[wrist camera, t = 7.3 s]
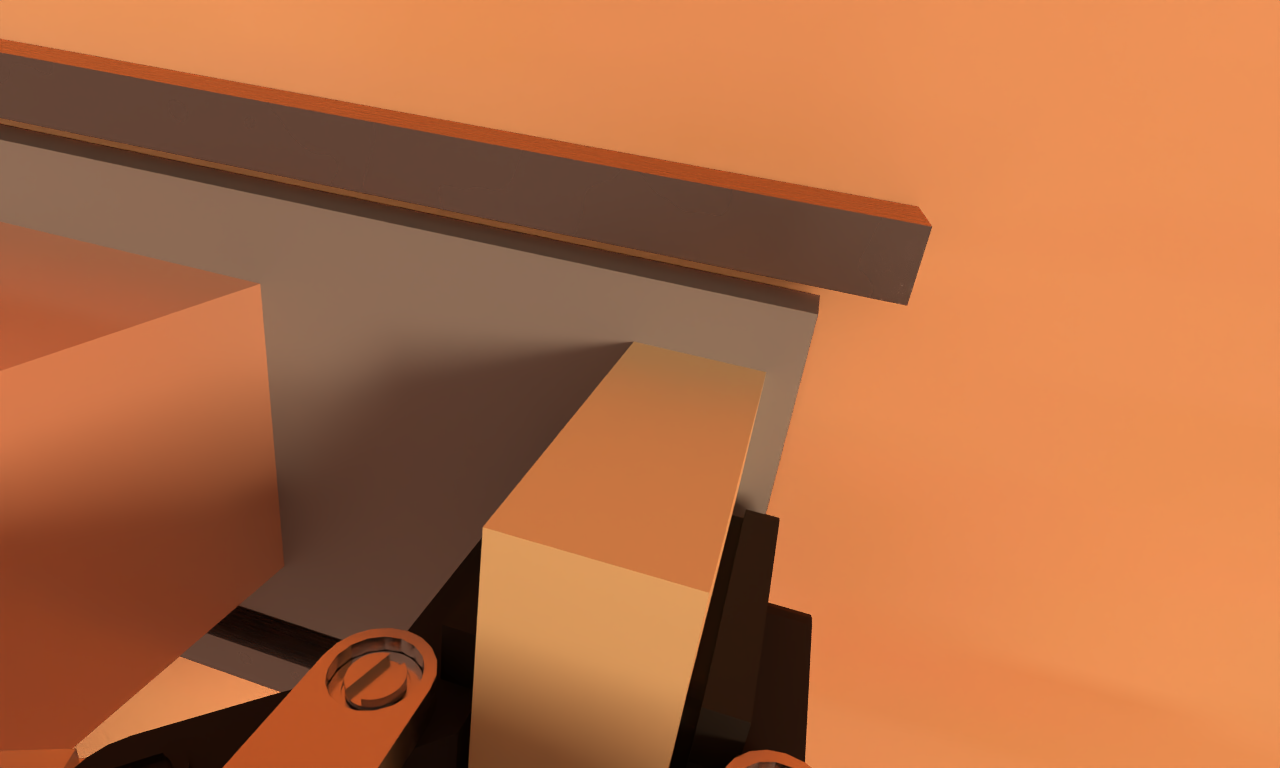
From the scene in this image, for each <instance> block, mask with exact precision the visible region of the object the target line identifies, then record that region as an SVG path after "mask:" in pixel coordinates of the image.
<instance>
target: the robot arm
mask: <svg viewBox="0 0 1280 768" xmlns="http://www.w3.org/2000/svg"><path fill="white" fill-rule="evenodd" d="M778 527H779V518H777V517H774V516H770V515H766V514H762V513H759V512H755V511H751V510H747V509H746V510H745V514H744V518H742V517H738V516H735V515H732V517H731V521H730V524H729V528H728V532H727V536H726V540H725V544H724V548H723V552H722V556H721V560H720V564H719V568H718V572H717V576H716V580H715V584H714V588H713V592H712V596H711V600H710V604H709V608H708V612H707V616H706V620H705V624H704V628H703V632H702V636H701V640H700V644H699V648H698V652H697V656H696V660H695V664H694V668H693V672H692V676H691V680H690V684H689V688H688V692H687V696H686V700H685V704H684V708H683V712H682V716H681V721H680V725H679V729H678V733H677V738H676V742H675V746H674V750H673V754H672V759H671V763H670V767H669V768H811V767H810V766H809V765H807V764H806V763H805V749H806V729H807V710H808V690H809V671H810V652H811V632H812V617H811V615H809V614H806V613H803V612H799V611H796V610H792V609H789V608H785V607H782V606H778V605H775V604H771V603H768V599H769V592H770V585H771V577H772V570H773V563H774V556H775V549H776V542H777V534H778ZM481 549H482V538H481V539H480V540H479V542H478V543H477V544H476V545H475V547H474V548H473V549H472V550H471V552H470V553H469V554H468V555H467V557H466V558H465V559H464V560H463V562H462V563H461V564H460V565H459V567H458V568H457V569H456V570H455V572H454V573H453V574H452V575H451V577H450V578H449V579H448V580H447V582H446V583H445V584H444V585H443V587H442V588H441V589H440V590H439V592H438V593H437V594H436V595H435V597H434V598H433V599H432V601H431V602H430V603H429V604H428V606H427V607H426V608H425V609H424V611H423V612H422V613H421V614H420V616H419V617H418V618H417V619H416V621H415V622H414V623H413V624H412V626H411V627H410V628H409V629H408V631H406V630H400V629H394V628H380V629H370V630H367V631H363V632H359V633H356V634H353V635H351V636H349V637H347V638H345V639H343V640H341V641H340V642H338V643H336V644H335V645H334V646H333V647H332V648H331V649H329V650H328V651H327V652H326V653H325V654H324V655H323V656H322V657H321V658H320V659H319V660H318V661H317V662H316V664H315V665H314V666H313V667H312V668H311V669H310V670H309V671H308V672H307V674H306V675H305V676H304V677H303V678H302V679H301V680H300V681H299V683H298V684H297V685H296V686H295V687H294V688H293V689H291V690H287V691H284V692H281V693H277V694H274V695H270V696H267V697H263V698H260V699H256V700H253V701H249V702H246V703H243V704H239V705H236V706H232V707H229V708H225V709H222V710H218V711H215V712H211V713H208V714H205V715H201V716H198V717H194V718H191V719H187V720H184V721H180V722H177V723H173V724H170V725H167V726H163V727H160V728H156V729H153V730H149V731H146V732H142V733H139V734H135V735H132V736H129V737H127V738H124V739H122V740H119V741H117V742H114V743H111V744H109V745H107V746H105V747H103V748H102V749H100V750H99V751H97V752H95V753H94V754H92V755H90V756H89V757H87V758H78V754H77V750H76V749H43V750H10V751H0V768H468V763H469V747H470V730H471V714H472V697H473V681H474V664H475V648H476V631H477V615H478V598H479V582H480V565H481Z"/></svg>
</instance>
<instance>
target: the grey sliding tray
mask: <svg viewBox="0 0 1280 768" xmlns="http://www.w3.org/2000/svg"><path fill="white" fill-rule="evenodd" d="M0 222H4V223H8V224H12V225H17V226H21V227H25V228H29V229H33V230H37V231H42V232H46V233H50V234H54V235H58V236H63V237H67V238H71V239H75V240H79V241H83V242H88V243H92V244H96V245H100V246H104V247H109V248H113V249H117V250H121V251H125V252H129V253H134V254H138V255H142V256H146V257H150V258H155V259H159V260H163V261H167V262H171V263H176V264H180V265H184V266H188V267H192V268H196V269H201V270H205V271H209V272H213V273H217V274H222V275H226V276H230V277H234V278H238V279H242V280H247V281H251V282H255V283H259V284H260V287H261V298H262V310H263V322H264V334H265V345H266V357H267V369H268V381H269V392H270V404H271V416H272V428H273V439H274V451H275V463H276V475H277V486H278V498H279V510H280V521H281V533H282V545H283V557H284V567H283V568H282V569H280V570H279V571H278V572H277V573H276V574H275V575H273V576H272V577H271V578H270V579H269V580H268V581H266V582H265V583H264V584H263V585H262V586H261V587H259V588H258V589H257V590H256V591H255V592H254V593H253V594H251V595H250V596H249V597H248V598H247V599H246V600H244V601H243V602H242V603H241V604H240V605H239V606H242V607H245V608H248V609H251V610H254V611H257V612H260V613H263V614H266V615H269V616H272V617H275V618H278V619H281V620H284V621H287V622H290V623H293V624H296V625H299V626H302V627H305V628H308V629H311V630H314V631H317V632H320V633H323V634H326V635H329V636H332V637H335V638H338V639H341V640H343V639H345V638H347V637H349V636H351V635H353V634H356V633H359V632H363V631H367V630H370V629H380V628H394V629H400V630H406V631H408V629H409V628H410V627H411V626H412V624H413V623H414V622H415V621H416V619H417V618H418V617H419V616H420V614H421V613H422V612H423V611H424V609H425V608H426V607H427V606H428V604H429V603H430V602H431V601H432V599H433V598H434V597H435V595H436V594H437V593H438V592H439V590H440V589H441V588H442V587H443V585H444V584H445V583H446V582H447V580H448V579H449V578H450V577H451V575H452V574H453V573H454V572H455V570H456V569H457V568H458V567H459V565H460V564H461V563H462V562H463V560H464V559H465V558H466V557H467V555H468V554H469V553H470V552H471V550H472V549H473V548H474V547H475V545H476V544H477V543H478V542H479V540H480V539H481V538H482V549H481V565H480V582H479V598H478V615H477V631H476V648H475V664H474V681H473V697H472V714H471V730H470V747H469V763H468V768H669V767H670V763H671V759H672V754H673V750H674V746H675V742H676V738H677V733H678V729H679V725H680V721H681V716H682V712H683V708H684V704H685V700H686V696H687V692H688V688H689V684H690V680H691V676H692V672H693V668H694V664H695V660H696V656H697V652H698V648H699V644H700V640H701V636H702V632H703V628H704V624H705V620H706V616H707V612H708V608H709V604H710V600H711V596H712V592H713V588H714V584H715V580H716V576H717V572H718V568H719V564H720V560H721V556H722V552H723V548H724V544H725V540H726V536H727V532H728V528H729V524H730V521H731V517H732V515H735V516H738V517H742V518H744V514H745V510H746V509H747V510H751V511H755V512H759V513H762V514H766V511H767V507H768V503H769V500H770V496H771V492H772V488H773V484H774V480H775V477H776V473H777V469H778V465H779V461H780V458H781V454H782V450H783V446H784V442H785V439H786V435H787V431H788V427H789V423H790V420H791V416H792V412H793V408H794V404H795V400H796V397H797V393H798V389H799V385H800V381H801V378H802V374H803V370H804V366H805V362H806V359H807V355H808V351H809V347H810V343H811V339H812V336H813V332H814V328H815V324H816V320H817V317H818V310H819V299H820V295H815V294H810V293H805V292H801V291H796V290H791V289H786V288H781V287H777V286H772V285H767V284H762V283H758V282H753V281H748V280H743V279H738V278H734V277H729V276H724V275H719V274H714V273H710V272H705V271H700V270H695V269H691V268H686V267H681V266H676V265H671V264H667V263H662V262H657V261H652V260H648V259H643V258H638V257H633V256H628V255H624V254H619V253H614V252H609V251H604V250H600V249H595V248H590V247H585V246H581V245H576V244H571V243H566V242H561V241H557V240H552V239H547V238H542V237H538V236H533V235H528V234H523V233H518V232H514V231H509V230H504V229H499V228H494V227H490V226H485V225H480V224H475V223H471V222H466V221H461V220H456V219H451V218H447V217H442V216H437V215H432V214H428V213H423V212H418V211H413V210H408V209H404V208H399V207H394V206H389V205H384V204H380V203H375V202H370V201H365V200H361V199H356V198H351V197H346V196H341V195H337V194H332V193H327V192H322V191H318V190H313V189H308V188H303V187H298V186H294V185H289V184H284V183H279V182H274V181H270V180H265V179H260V178H255V177H251V176H246V175H241V174H236V173H231V172H227V171H222V170H217V169H212V168H208V167H203V166H198V165H193V164H188V163H184V162H179V161H174V160H169V159H164V158H160V157H155V156H150V155H145V154H141V153H136V152H131V151H126V150H121V149H117V148H112V147H107V146H102V145H98V144H93V143H88V142H83V141H78V140H74V139H69V138H64V137H59V136H54V135H50V134H45V133H40V132H35V131H31V130H26V129H21V128H16V127H11V126H7V125H2V124H0Z"/></svg>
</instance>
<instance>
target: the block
mask: <svg viewBox="0 0 1280 768" xmlns="http://www.w3.org/2000/svg"><path fill="white" fill-rule="evenodd" d="M283 567H284V557H283V545H282V533H281V521H280V510H279V498H278V486H277V475H276V463H275V451H274V439H273V428H272V416H271V404H270V392H269V381H268V369H267V357H266V345H265V334H264V322H263V310H262V298H261V287H260V284H259V283H255V282H251V281H247V280H242V279H238V278H234V277H230V276H226V275H222V274H217V273H213V272H209V271H205V270H201V269H196V268H192V267H188V266H184V265H180V264H176V263H171V262H167V261H163V260H159V259H155V258H150V257H146V256H142V255H138V254H134V253H129V252H125V251H121V250H117V249H113V248H109V247H104V246H100V245H96V244H92V243H88V242H83V241H79V240H75V239H71V238H67V237H63V236H58V235H54V234H50V233H46V232H42V231H37V230H33V229H29V228H25V227H21V226H17V225H12V224H8V223H4V222H0V751H10V750H43V749H72V748H73V747H74V746H76V745H77V744H78V743H79V742H80V741H81V740H83V739H84V738H85V737H86V736H87V735H88V734H90V733H91V732H92V731H93V730H94V729H95V728H97V727H98V726H99V725H100V724H101V723H102V722H104V721H105V720H106V719H107V718H108V717H109V716H111V715H112V714H113V713H114V712H115V711H116V710H118V709H119V708H120V707H121V706H122V705H123V704H125V703H126V702H127V701H128V700H129V699H130V698H131V697H133V696H134V695H135V694H136V693H137V692H138V691H140V690H141V689H142V688H143V687H144V686H145V685H147V684H148V683H149V682H150V681H151V680H152V679H154V678H155V677H156V676H157V675H158V674H159V673H161V672H162V671H163V670H164V669H165V668H166V667H168V666H169V665H170V664H171V663H172V662H173V661H175V660H176V659H177V658H178V657H179V656H180V655H182V654H183V653H184V652H185V651H186V650H187V649H189V648H190V647H191V646H192V645H193V644H194V643H195V642H197V641H198V640H199V639H200V638H201V637H202V636H204V635H205V634H206V633H207V632H208V631H209V630H211V629H212V628H213V627H214V626H215V625H216V624H218V623H219V622H220V621H221V620H222V619H223V618H225V617H226V616H227V615H228V614H229V613H230V612H232V611H233V610H234V609H235V608H236V607H237V606H239V605H240V604H241V603H242V602H243V601H244V600H246V599H247V598H248V597H249V596H250V595H251V594H253V593H254V592H255V591H256V590H257V589H258V588H259V587H261V586H262V585H263V584H264V583H265V582H266V581H268V580H269V579H270V578H271V577H272V576H273V575H275V574H276V573H277V572H278V571H279V570H280V569H282V568H283Z"/></svg>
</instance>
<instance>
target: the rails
mask: <svg viewBox="0 0 1280 768" xmlns="http://www.w3.org/2000/svg"><path fill="white" fill-rule="evenodd" d="M0 118H4V119H9V120H14V121H18V122H23V123H28V124H33V125H38V126H42V127H47V128H52V129H57V130H62V131H67V132H71V133H76V134H81V135H86V136H91V137H96V138H100V139H105V140H110V141H115V142H120V143H125V144H129V145H134V146H139V147H144V148H149V149H154V150H158V151H163V152H168V153H173V154H178V155H182V156H187V157H192V158H197V159H202V160H207V161H211V162H216V163H221V164H226V165H231V166H236V167H240V168H245V169H250V170H255V171H260V172H265V173H269V174H274V175H279V176H284V177H289V178H294V179H298V180H303V181H308V182H313V183H318V184H323V185H327V186H332V187H337V188H342V189H347V190H351V191H356V192H361V193H366V194H371V195H376V196H380V197H385V198H390V199H395V200H400V201H405V202H409V203H414V204H419V205H424V206H429V207H434V208H438V209H443V210H448V211H453V212H458V213H463V214H467V215H472V216H477V217H482V218H487V219H491V220H496V221H501V222H506V223H511V224H516V225H520V226H525V227H530V228H535V229H540V230H545V231H549V232H554V233H559V234H564V235H569V236H574V237H578V238H583V239H588V240H593V241H598V242H603V243H607V244H612V245H617V246H622V247H627V248H632V249H636V250H641V251H646V252H651V253H656V254H660V255H665V256H670V257H675V258H680V259H685V260H689V261H694V262H699V263H704V264H709V265H714V266H718V267H723V268H728V269H733V270H738V271H743V272H747V273H752V274H757V275H762V276H767V277H772V278H776V279H781V280H786V281H791V282H796V283H801V284H805V285H810V286H815V287H820V288H825V289H829V290H834V291H839V292H844V293H849V294H854V295H858V296H863V297H868V298H873V299H878V300H883V301H887V302H892V303H897V304H902V305H907V304H908V301H909V298H910V295H911V292H912V288H913V285H914V282H915V279H916V276H917V273H918V269H919V266H920V263H921V260H922V257H923V254H924V250H925V247H926V244H927V241H928V238H929V235H930V231H931V228H932V226H931V224H930V223H929V221H928V220H927V218H926V217H925V215H924V214H923V213H922V211H921V210H920V208H919V207H917V206H912V205H906V204H901V203H895V202H890V201H884V200H879V199H874V198H868V197H863V196H857V195H852V194H846V193H841V192H835V191H830V190H824V189H819V188H813V187H808V186H802V185H797V184H791V183H786V182H781V181H775V180H770V179H764V178H759V177H753V176H748V175H742V174H737V173H731V172H726V171H720V170H715V169H709V168H704V167H699V166H693V165H688V164H682V163H677V162H671V161H666V160H660V159H655V158H649V157H644V156H638V155H633V154H627V153H622V152H616V151H611V150H606V149H600V148H595V147H589V146H584V145H578V144H573V143H567V142H562V141H556V140H551V139H545V138H540V137H534V136H529V135H524V134H518V133H513V132H507V131H502V130H496V129H491V128H485V127H480V126H474V125H469V124H463V123H458V122H452V121H447V120H441V119H436V118H431V117H425V116H420V115H414V114H409V113H403V112H398V111H392V110H387V109H381V108H376V107H370V106H365V105H359V104H354V103H349V102H343V101H338V100H332V99H327V98H321V97H316V96H310V95H305V94H299V93H294V92H288V91H283V90H277V89H272V88H266V87H261V86H256V85H250V84H245V83H239V82H234V81H228V80H223V79H217V78H212V77H206V76H201V75H195V74H190V73H184V72H179V71H174V70H168V69H163V68H157V67H152V66H146V65H141V64H135V63H130V62H124V61H119V60H113V59H108V58H102V57H97V56H92V55H86V54H81V53H75V52H70V51H64V50H59V49H53V48H48V47H42V46H37V45H31V44H26V43H20V42H15V41H9V40H4V39H0ZM340 641H341V639H338V638H335V637H332V636H329V635H326V634H323V633H320V632H317V631H314V630H311V629H308V628H305V627H302V626H299V625H296V624H293V623H290V622H287V621H284V620H281V619H278V618H275V617H272V616H269V615H266V614H263V613H260V612H257V611H254V610H251V609H248V608H245V607H242V606H237V607H236V608H235V609H234V610H233V611H232V612H230V613H229V614H228V615H227V616H226V617H225V618H223V619H222V620H221V621H220V622H219V623H218V624H216V625H215V626H214V627H213V628H212V629H211V630H209V631H208V632H207V633H206V634H205V635H204V636H202V637H201V638H200V639H199V640H198V641H197V642H195V643H194V644H193V645H192V646H191V647H190V648H189V649H187V650H186V651H185V652H184V653H183V654H182V655H180V657H183V658H186V659H189V660H192V661H194V662H197V663H200V664H203V665H206V666H209V667H211V668H214V669H217V670H220V671H223V672H226V673H228V674H231V675H234V676H237V677H240V678H243V679H245V680H248V681H251V682H254V683H257V684H260V685H262V686H265V687H268V688H271V689H274V690H277V691H279V692H284V691H287V690H291V689H293V688H294V687H295V686H296V685H297V684H298V683H299V681H300V680H301V679H302V678H303V677H304V676H305V675H306V674H307V672H308V671H309V670H310V669H311V668H312V667H313V666H314V665H315V664H316V662H317V661H318V660H319V659H320V658H321V657H322V656H323V655H324V654H325V653H326V652H327V651H328V650H329V649H331V648H332V647H333V646H334V645H335V644H336V643H338V642H340Z"/></svg>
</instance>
